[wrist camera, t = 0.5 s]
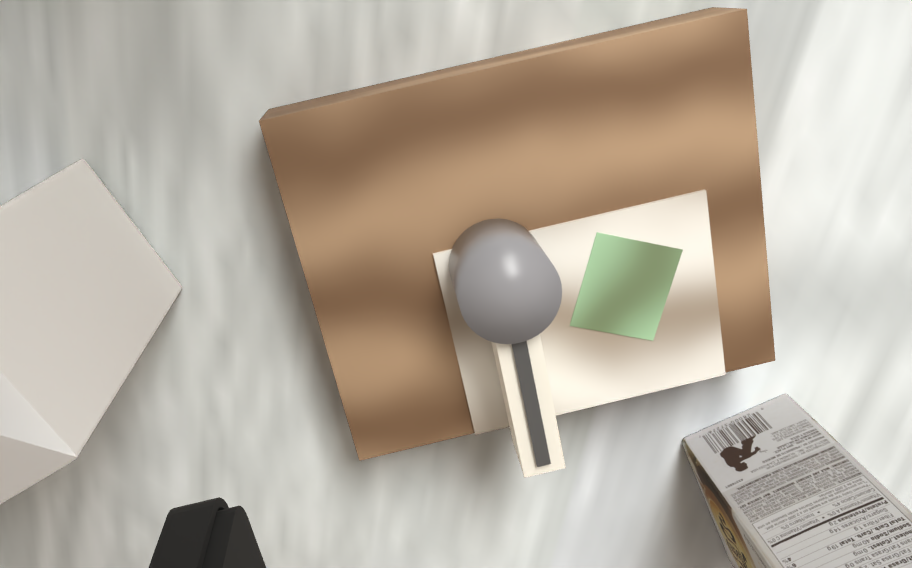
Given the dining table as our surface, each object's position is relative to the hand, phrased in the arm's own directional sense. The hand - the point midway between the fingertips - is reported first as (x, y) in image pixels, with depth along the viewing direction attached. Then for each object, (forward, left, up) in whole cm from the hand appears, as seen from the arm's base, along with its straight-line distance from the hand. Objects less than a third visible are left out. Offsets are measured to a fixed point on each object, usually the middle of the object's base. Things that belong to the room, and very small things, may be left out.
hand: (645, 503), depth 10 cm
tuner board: (+6, +3, -29) cm, 29 cm away
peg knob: (+9, +1, -25) cm, 26 cm away
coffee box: (+23, +13, -29) cm, 39 cm away
